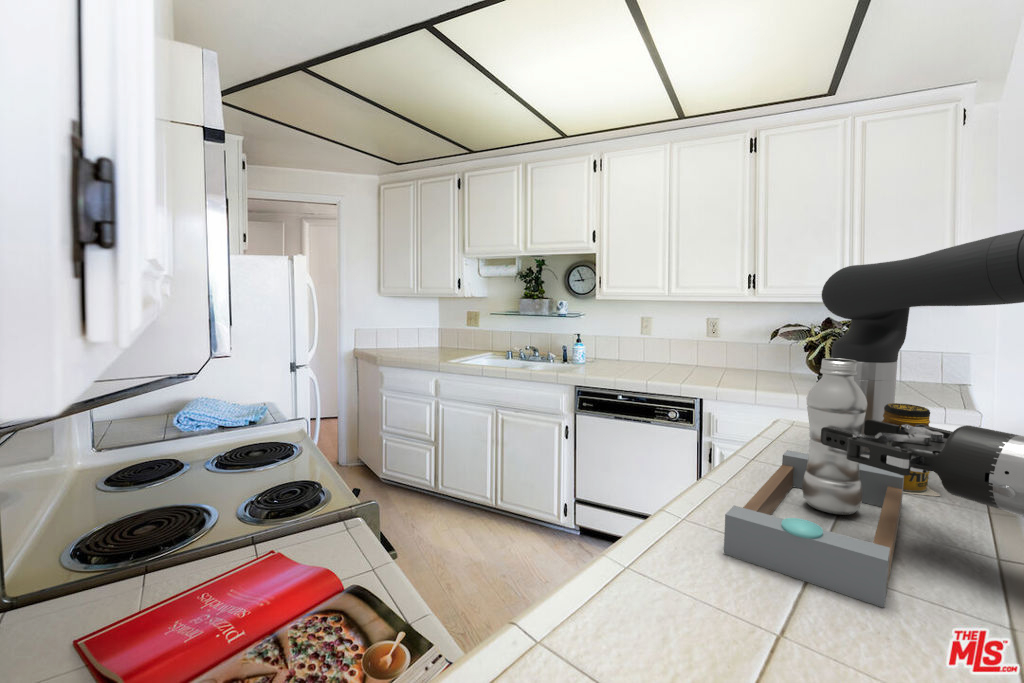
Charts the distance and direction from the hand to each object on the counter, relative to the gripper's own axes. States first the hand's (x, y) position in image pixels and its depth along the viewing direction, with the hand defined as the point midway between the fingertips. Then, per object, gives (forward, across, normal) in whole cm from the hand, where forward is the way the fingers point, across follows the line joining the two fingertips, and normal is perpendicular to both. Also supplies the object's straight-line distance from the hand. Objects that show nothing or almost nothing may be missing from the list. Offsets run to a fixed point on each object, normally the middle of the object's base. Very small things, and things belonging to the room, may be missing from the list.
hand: (844, 430), depth 61 cm
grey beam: (+4, -6, +11) cm, 13 cm away
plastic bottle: (+1, 0, +11) cm, 11 cm away
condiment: (+3, -18, +11) cm, 21 cm away
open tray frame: (-1, +5, +11) cm, 12 cm away
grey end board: (-7, +17, +11) cm, 22 cm away
